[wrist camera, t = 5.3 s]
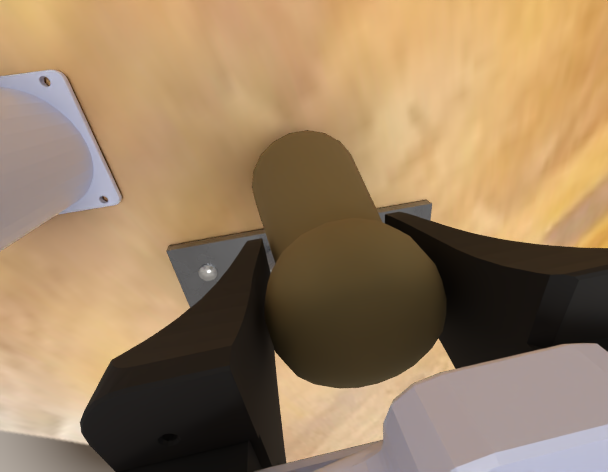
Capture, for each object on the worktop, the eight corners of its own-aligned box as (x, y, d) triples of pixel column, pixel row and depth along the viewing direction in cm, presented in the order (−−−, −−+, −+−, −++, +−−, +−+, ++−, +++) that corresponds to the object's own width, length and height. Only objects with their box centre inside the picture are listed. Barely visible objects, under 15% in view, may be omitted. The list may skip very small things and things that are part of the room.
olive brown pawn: (364, 212, 18) (482, 381, 9) (273, 242, 18) (293, 438, 9) (345, 113, 14) (503, 217, 5) (233, 152, 15) (199, 315, 6)
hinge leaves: (212, 350, 28) (207, 383, 25) (169, 245, 22) (155, 271, 19) (416, 308, 29) (435, 335, 26) (426, 199, 23) (452, 217, 20)
